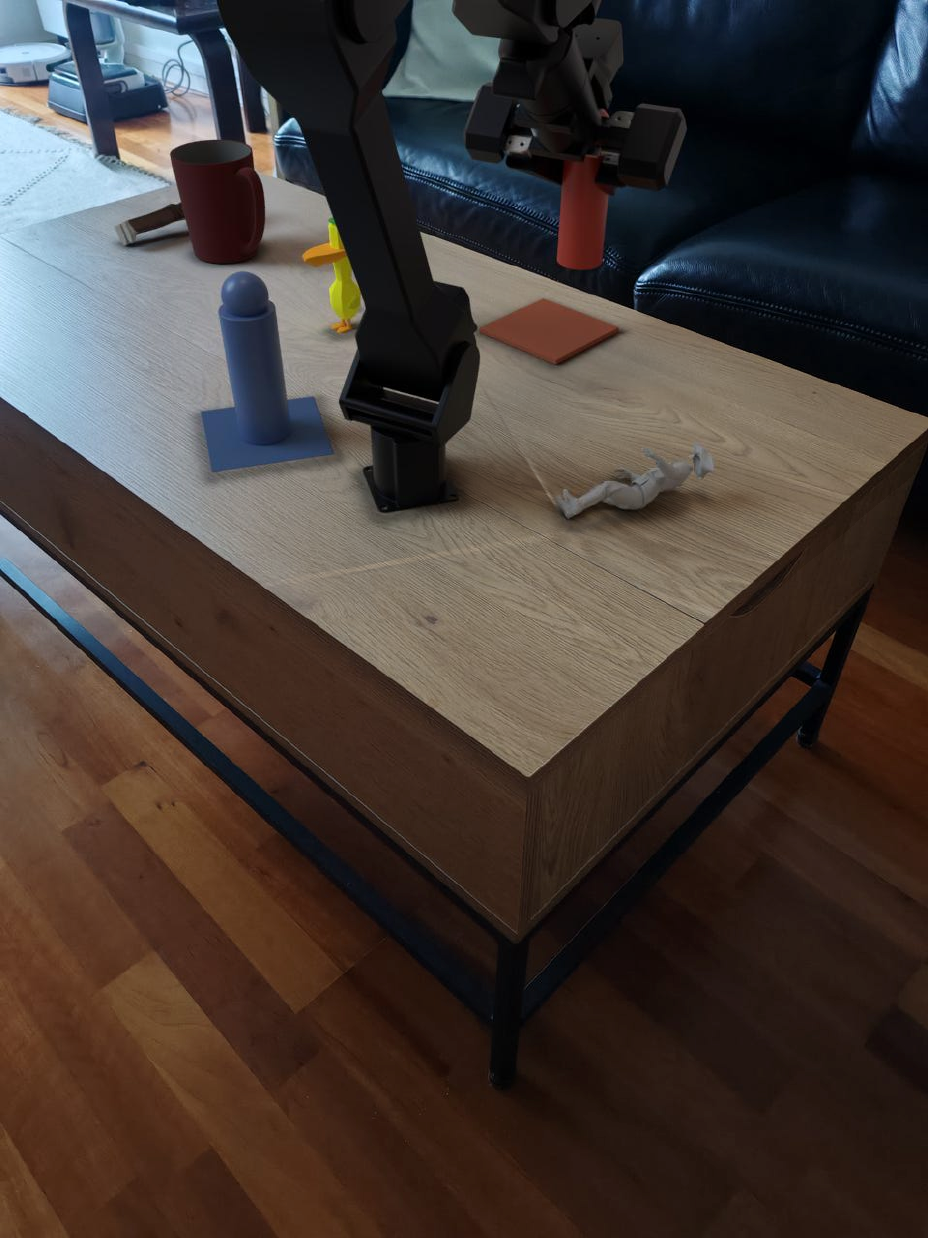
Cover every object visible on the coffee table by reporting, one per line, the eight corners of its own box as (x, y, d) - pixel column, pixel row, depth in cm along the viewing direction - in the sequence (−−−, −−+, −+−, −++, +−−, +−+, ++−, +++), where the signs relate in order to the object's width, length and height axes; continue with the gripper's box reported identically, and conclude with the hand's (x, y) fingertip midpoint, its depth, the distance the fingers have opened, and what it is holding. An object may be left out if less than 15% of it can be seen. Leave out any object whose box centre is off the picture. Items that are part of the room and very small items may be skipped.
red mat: (555, 364, 93) (555, 359, 93) (479, 332, 98) (479, 327, 98) (618, 331, 99) (619, 326, 98) (543, 302, 104) (543, 297, 103)
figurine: (152, 275, 113) (259, 234, 120) (143, 233, 109) (254, 193, 116) (116, 244, 116) (222, 206, 123) (106, 202, 112) (216, 165, 119)
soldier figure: (544, 502, 78) (668, 428, 79) (575, 554, 78) (698, 479, 79) (566, 486, 70) (702, 404, 71) (600, 544, 70) (736, 461, 72)
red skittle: (610, 264, 94) (627, 108, 85) (573, 273, 92) (586, 114, 83) (585, 249, 97) (598, 96, 88) (548, 257, 95) (558, 102, 86)
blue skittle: (295, 441, 82) (274, 281, 72) (242, 448, 81) (214, 287, 72) (287, 415, 85) (266, 258, 76) (236, 422, 84) (209, 264, 75)
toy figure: (322, 347, 95) (310, 223, 87) (303, 335, 98) (289, 212, 90) (378, 329, 99) (372, 207, 91) (359, 317, 101) (350, 197, 93)
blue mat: (334, 458, 81) (334, 453, 80) (212, 477, 78) (211, 471, 78) (314, 400, 88) (313, 395, 87) (201, 416, 86) (200, 411, 85)
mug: (299, 257, 112) (288, 156, 105) (239, 280, 107) (223, 176, 100) (232, 232, 118) (218, 134, 111) (172, 252, 113) (153, 152, 106)
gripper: (699, -5, 73) (716, 119, 88) (479, -26, 80) (529, 92, 94) (649, 134, 73) (675, 235, 88) (434, 102, 80) (491, 200, 94)
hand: (591, 186), depth 91 cm, fingers closed on red skittle, 4 cm apart
